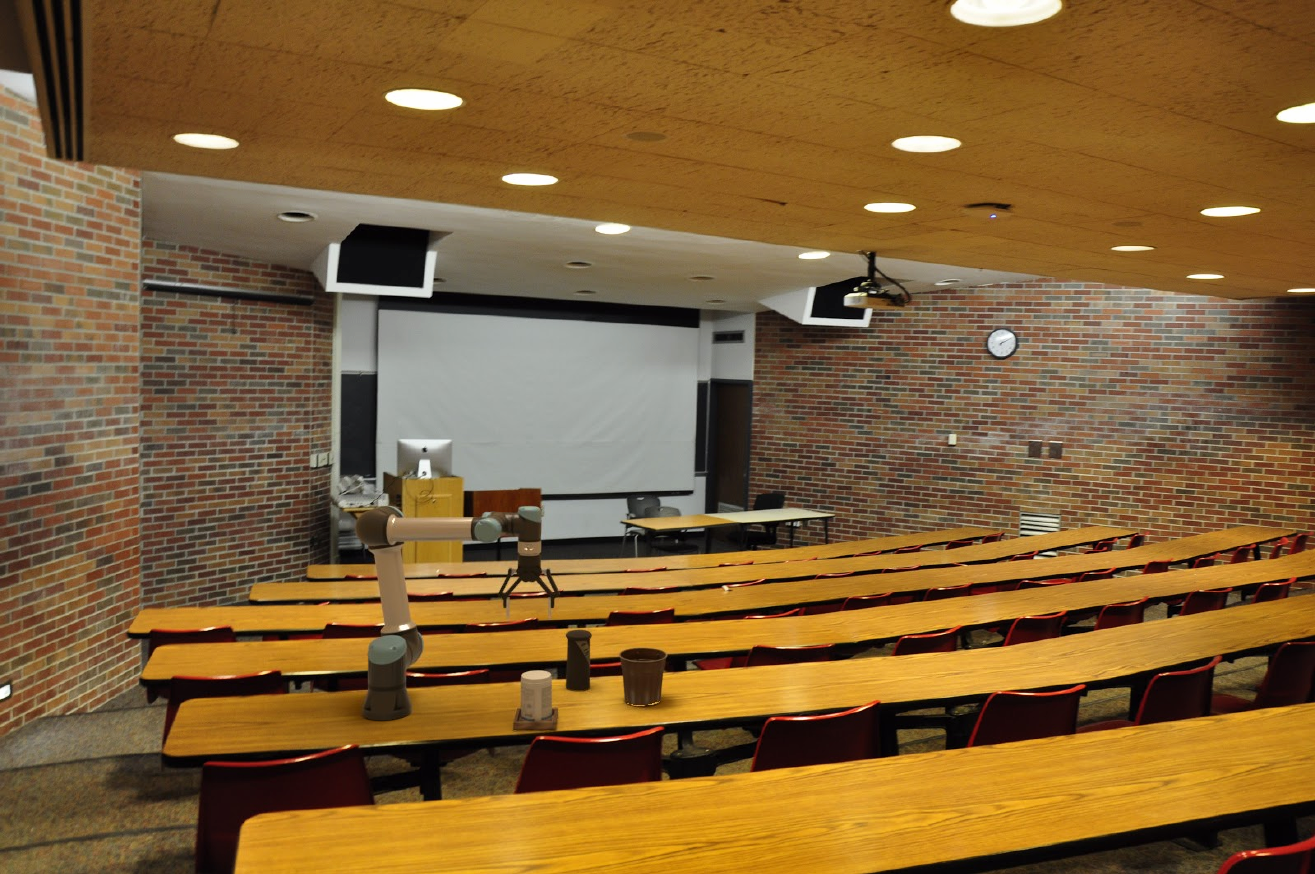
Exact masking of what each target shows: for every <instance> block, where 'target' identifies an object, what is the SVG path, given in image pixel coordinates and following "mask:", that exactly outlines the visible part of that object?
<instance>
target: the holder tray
mask: <svg viewBox="0 0 1315 874" xmlns="http://www.w3.org/2000/svg"><path fill="white" fill-rule="evenodd" d="M557 719H559V708H558V707H552V719H551V721H521V707H517V708H516V712H515V715H514V718H513V722H512V731H513V730H556V731H557V727H558V720H557ZM556 726H557V727H556Z"/></svg>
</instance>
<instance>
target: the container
mask: <svg viewBox="0 0 1315 874" xmlns="http://www.w3.org/2000/svg"><path fill="white" fill-rule="evenodd" d="M592 636H593V634H592V632H590V631H589V630H586V629H585V630H584V629H573V630H569V631H567V632H566V633H565V637H566V639H567V647H566V648H567V650H566V653H567V654H566V672H565V673H566V675H565V677H566V678H565V687H566V689H567V690H569V689H570V690H569V691H573V690H583V691H587V690H589V689H590V688H591V639H592ZM588 688H589V689H588ZM586 689H587V690H586Z"/></svg>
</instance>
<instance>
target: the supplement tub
mask: <svg viewBox="0 0 1315 874" xmlns="http://www.w3.org/2000/svg"><path fill="white" fill-rule="evenodd" d="M552 681H553V680H552V674H551V673H550V672H549V671H546V670H538V669H537V670H529V671H526V672H523V673H522V674H521V677H520V708H521V721H551V719H552V708H553V706H552V705H553V702H552V701H553V693H552V692H553V691H552V689H553V686H552V685H553V684H552V683H553V682H552Z"/></svg>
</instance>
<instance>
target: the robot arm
mask: <svg viewBox="0 0 1315 874" xmlns="http://www.w3.org/2000/svg"><path fill="white" fill-rule="evenodd" d="M354 533H355V535H356V538H357V539H358V540H359V541H360V542H361V543H363V544H364V545H366V546H367V548H368V549H367V550H368V551H369V552H370V553H372V554H373V556H374V562H375V568H376V569H375V570H376V577H377V581H378V590H379V596H380V604H381V609H382V617H383V623H384V625H383V627H382V628H381V630H380V635H381V636H380V637H377V638H374V639H373V640H371V641H370V643H369V644H368V648H367V649H368V650H367V693H366V696H365V698H364V701H363V704H362V708H361V713H362V715H361V716H362V717H363V716H364V717H363V718H365V717H366V718H365V719H367V718H368V719H367V720H371V721H390V720H391V721H392V719H393V720H397V718H398V719H401V717H402V718H404V717H406V716H408V715H410V714H411V713H412V709H413V707H412V705H413V704H412V702H411V697H410V695H409V692H408V689H407V669H409V668H410V667H411V666H412V665H414V664H415V663H417V662H418V661H419V659H420V657H421V656H422V654H423V651H424V648H425V647H424V645H425V644H424V643H425V642H424V639H423V638H424V637H423V636H422V634H421V633H420V632H419V631H418V627H417V623H416V622H415V621H413V620H412V617H411V612H410V604H409V603H410V602H409V598H408V591H407V590H408V589H407V585H406V577H405V569H404V563H403V558H402V548H403V547H404V546H405V542H481V543H483V544H489V543H493V542H496V541H497V540H498V539H499V538H501V537H503V536H514V537H515V536H517V553H518V555H517V568H512V567H508V570H507V575H506V577H505V579H504V581H503V583H502V584H501V587H500V589H499V591H498V592H497V597H499V598H502V607H503V609H506V612H505V613H506V615H505V616H506V617H505V619H506V620H508V619H510V615H511V614H510V611H511V610H510V609H511V607H510V603H511V601H510V597H509V596H510V595H511V593H513V591H514V590H515V589H516V588H517V587H518V586H519V585H520V583H521V582H523V583H535V582H537V584H538V585H539V586H540V588H542V590H543V591H544V592H545V593H546V594H547V595H548V600H547V601H548V602H547V603H548V604H547V606H548V607H547V611H548V612H547V619H548V620H551V618H552V609H554V608H555V599H556V598H558V597H560V596H561V592H560V590H559V588H558V586H557V584H556V582H555V580H554V578H553V576H552V574H551V572H552V571H551V568H550V567H547V568H543V569H542V564H541V563H542V555H541V554H540V553H542V511H541V508H540V507H538V506H533V505H528V506H527V505H525V506H519V507H518V511H517V512H501V511H500V512H499V511H490V512H489V511H485V512H484V513H482V514H481V516H478V517H477V516H476V517H470V516H469V517H468V516H466V517H465V516H464V517H462V516H460V517H456V516H455V517H454V516H453V517H405V515H404V513H403V512H402V511H401V510H400V509H399V508H397V507H395V506H391V505H381V506H377V507H375V508H373V509H370V510H366V511H364V512H362V513H361V514H360V515H359V516H358V517H357V519H356V520H355V524H354ZM515 573H516V575H517V579H516V580H515V581H514V582H513V583H512V585H511V586H510V587H509V588H508V589H507V590H506V591H505V589H506V587H507V586H508V583H509V581H510V579H511V578H512V576H513V575H515ZM542 574H544V576H546V578H547V580H548V582H549V584H550V586H551V588H552V590H553V591H552V590H551V589H550V587H549V586H547V584H546V583H545V582H544V581H543V579H542V578H541V575H542ZM504 591H505V593H504ZM403 716H404V717H403Z"/></svg>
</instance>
